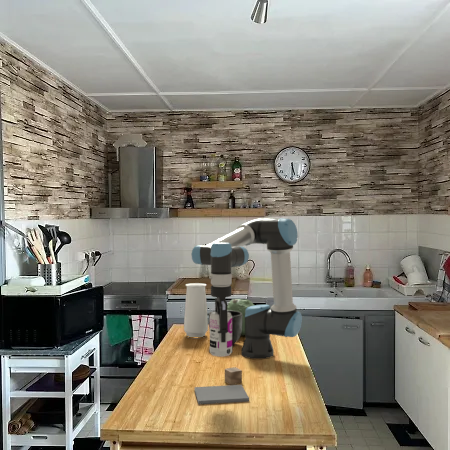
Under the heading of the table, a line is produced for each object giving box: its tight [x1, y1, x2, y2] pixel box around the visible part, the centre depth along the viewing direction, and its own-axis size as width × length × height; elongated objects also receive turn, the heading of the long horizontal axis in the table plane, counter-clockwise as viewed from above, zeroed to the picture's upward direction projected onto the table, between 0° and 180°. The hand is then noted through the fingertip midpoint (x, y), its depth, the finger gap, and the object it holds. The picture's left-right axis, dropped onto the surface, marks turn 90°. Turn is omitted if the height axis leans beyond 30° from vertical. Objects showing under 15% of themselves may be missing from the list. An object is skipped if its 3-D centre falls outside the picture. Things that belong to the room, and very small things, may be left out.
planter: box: [208, 310, 243, 347], centre depth 253 cm, size 17×17×16 cm
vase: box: [183, 282, 209, 338], centre depth 271 cm, size 13×13×28 cm
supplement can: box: [209, 310, 233, 357], centre depth 182 cm, size 8×8×15 cm
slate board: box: [194, 384, 250, 405], centre depth 182 cm, size 18×14×1 cm
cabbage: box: [227, 298, 255, 336], centre depth 274 cm, size 16×19×20 cm
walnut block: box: [224, 366, 243, 385], centre depth 197 cm, size 5×5×5 cm
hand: (221, 347), depth 182 cm, fingers closed on supplement can, 8 cm apart
